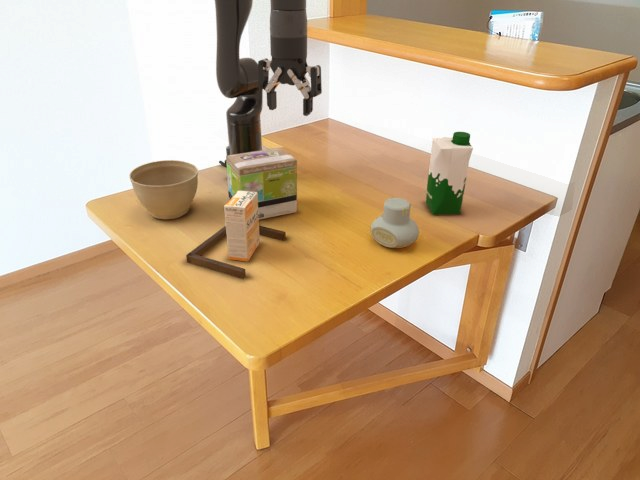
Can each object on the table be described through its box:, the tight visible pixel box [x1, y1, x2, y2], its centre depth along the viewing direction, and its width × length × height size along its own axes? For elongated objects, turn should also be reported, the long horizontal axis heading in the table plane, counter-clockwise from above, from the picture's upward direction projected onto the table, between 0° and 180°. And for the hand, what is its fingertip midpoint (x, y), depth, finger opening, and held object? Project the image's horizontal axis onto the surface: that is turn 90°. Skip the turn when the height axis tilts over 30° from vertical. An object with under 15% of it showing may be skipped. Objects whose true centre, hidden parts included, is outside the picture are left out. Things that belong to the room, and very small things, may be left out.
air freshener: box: [370, 197, 420, 249], centre depth 116 cm, size 11×8×10 cm
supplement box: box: [223, 191, 261, 263], centre depth 111 cm, size 8×5×13 cm, turn 167°
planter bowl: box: [129, 159, 199, 220], centre depth 128 cm, size 16×16×11 cm
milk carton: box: [425, 131, 474, 216], centre depth 128 cm, size 9×9×20 cm
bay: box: [185, 224, 287, 280], centre depth 114 cm, size 14×18×2 cm
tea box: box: [225, 146, 298, 220], centre depth 128 cm, size 15×10×15 cm, turn 117°
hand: (289, 112), depth 112 cm, fingers open, 8 cm apart
